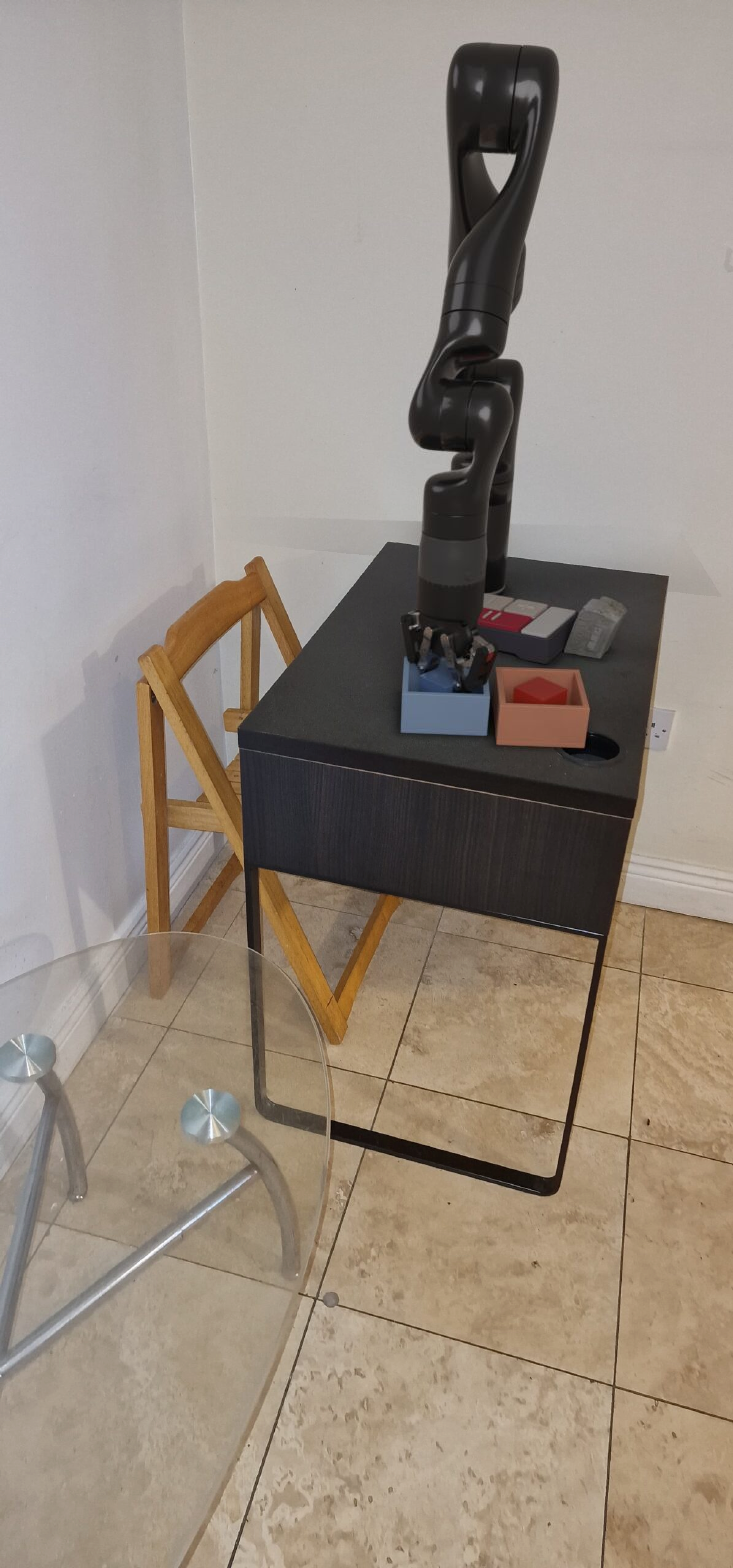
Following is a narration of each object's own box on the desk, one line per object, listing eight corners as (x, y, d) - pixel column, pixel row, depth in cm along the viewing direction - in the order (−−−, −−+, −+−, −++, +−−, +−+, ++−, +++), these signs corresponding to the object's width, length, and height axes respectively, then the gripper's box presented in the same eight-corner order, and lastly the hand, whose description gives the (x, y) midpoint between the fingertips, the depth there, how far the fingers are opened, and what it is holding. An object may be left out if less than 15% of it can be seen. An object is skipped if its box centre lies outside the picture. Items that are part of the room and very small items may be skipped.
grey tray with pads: (483, 589, 147) (581, 607, 140) (482, 617, 149) (579, 636, 142) (446, 614, 139) (548, 634, 132) (446, 644, 141) (546, 665, 134)
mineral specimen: (556, 658, 135) (565, 597, 132) (573, 647, 142) (581, 589, 139) (612, 667, 132) (621, 605, 129) (625, 655, 139) (635, 596, 137)
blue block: (417, 708, 122) (419, 675, 120) (443, 697, 125) (445, 664, 123) (444, 721, 120) (446, 688, 117) (469, 710, 122) (472, 677, 120)
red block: (510, 720, 120) (513, 687, 118) (534, 709, 123) (538, 676, 120) (539, 734, 117) (543, 700, 115) (563, 722, 120) (568, 689, 118)
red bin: (492, 704, 125) (495, 666, 122) (574, 707, 125) (579, 669, 122) (496, 745, 117) (499, 705, 114) (584, 748, 116) (590, 708, 113)
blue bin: (402, 693, 127) (404, 656, 124) (483, 696, 127) (486, 659, 124) (400, 733, 119) (401, 693, 116) (486, 736, 118) (490, 696, 116)
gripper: (523, 580, 111) (509, 719, 120) (430, 546, 120) (424, 678, 129) (475, 597, 106) (465, 739, 116) (383, 561, 115) (380, 696, 124)
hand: (444, 706), depth 122 cm, fingers closed on blue block, 4 cm apart
